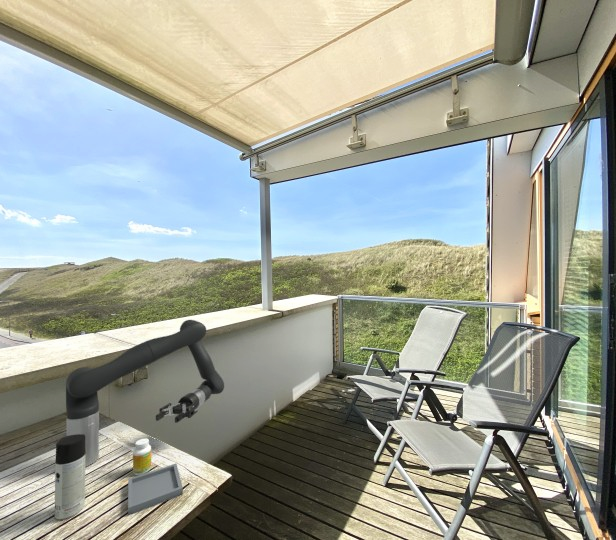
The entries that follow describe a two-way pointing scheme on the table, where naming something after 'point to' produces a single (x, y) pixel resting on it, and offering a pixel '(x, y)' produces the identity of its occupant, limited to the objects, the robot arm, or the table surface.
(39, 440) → the table surface
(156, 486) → the tray
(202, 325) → the robot arm
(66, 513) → the spray can
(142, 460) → the supplement bottle
